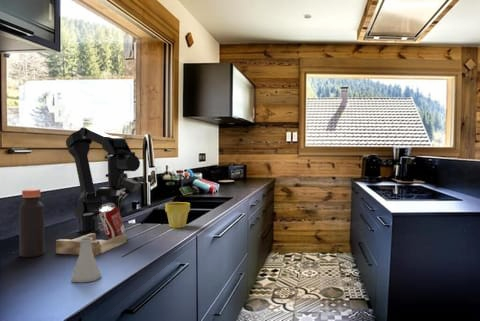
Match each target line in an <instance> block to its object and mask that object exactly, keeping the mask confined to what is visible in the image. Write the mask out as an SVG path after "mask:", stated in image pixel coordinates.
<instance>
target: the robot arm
mask: <svg viewBox="0 0 480 321" xmlns="http://www.w3.org/2000/svg"><path fill="white" fill-rule="evenodd" d="M94 142H95V143H97V144H99V145H101V149H102V150H104V151H105V152H107V154H106V155H104V158H103V159H106V160H107V174H105V178H107V182H108V183H107V185H105V187H104V186H103V187H97V188H96V189H95V186H94V180H93V176H92V172H91V167H90V162H89V157H88V155H89V153H90V150H91V145H92V144H93V143H94ZM65 144H66V147H67V148H66V149H67V150H68V151H67V152H68V153H69V154H70V155H71V156H72V157H73V158H74V162H75V167H76V171H77V172H76V173H77V177H78V182H79V187H80V195H79V198H78V204H77V205H76V206H77V207H76V208H75V210H74V216H75V218H78V228H79V229H78V230H76V233H81V234H82V233H83V234H90V233H96V232H98V231H100V230H101V229H100V228H99V218H98V216H99V208H100V207H101V206H102V205H104V201H103V198H102V197H104V198H106V199H107V201H108V203H114V204H115V206H117V207H118V209H119V213H120V211H121V208H122V207H121V206H122V205H123V201H124V199H125V198H126V197H127V196H128V195H129V193H126V192H131V193H132V192H137V191H138V190H139V187H141V186H142V184H141V183H142V181H141V178H140V177H137V176H136V177H133V178H132V177H131V178H129V177H128V174H127V173H125V172H136V171H138V170H139V168H140V166H141V162H140V159H139V157H138V156H136V152H133V151H132V150H131V148H130V146H129V144H128V142H127V139H126V138H125V137H123V136H115V135H110V134H107V133H105V132H103V131H100V130H98V129H96V128H95V127H93V126H92V127H91V126H82V127H80V129H78V130H76V131H74V132H73V133H71V134H70V135H69V136H68V137H67V138H66V140H65Z"/></svg>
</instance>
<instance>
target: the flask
mask: <svg viewBox="0 0 480 321" xmlns="http://www.w3.org/2000/svg"><path fill="white" fill-rule="evenodd" d="M92 240H93V239H92V238H88V237H87V238H81V239H79V242H80V243H81V247H80V253H79V255H78V258H77V261H76V262H75V263H76V264H75V266H74V269H73V272H72V275H71V278H70V282H71V283H72V282H73V283H88V282H95V281H97V280H99V279H100V278H102V274H101V271H100V269H99V265H98V264H97V260H96V258H95V256H94V255H93V252H92V247H91V242H92Z"/></svg>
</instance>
